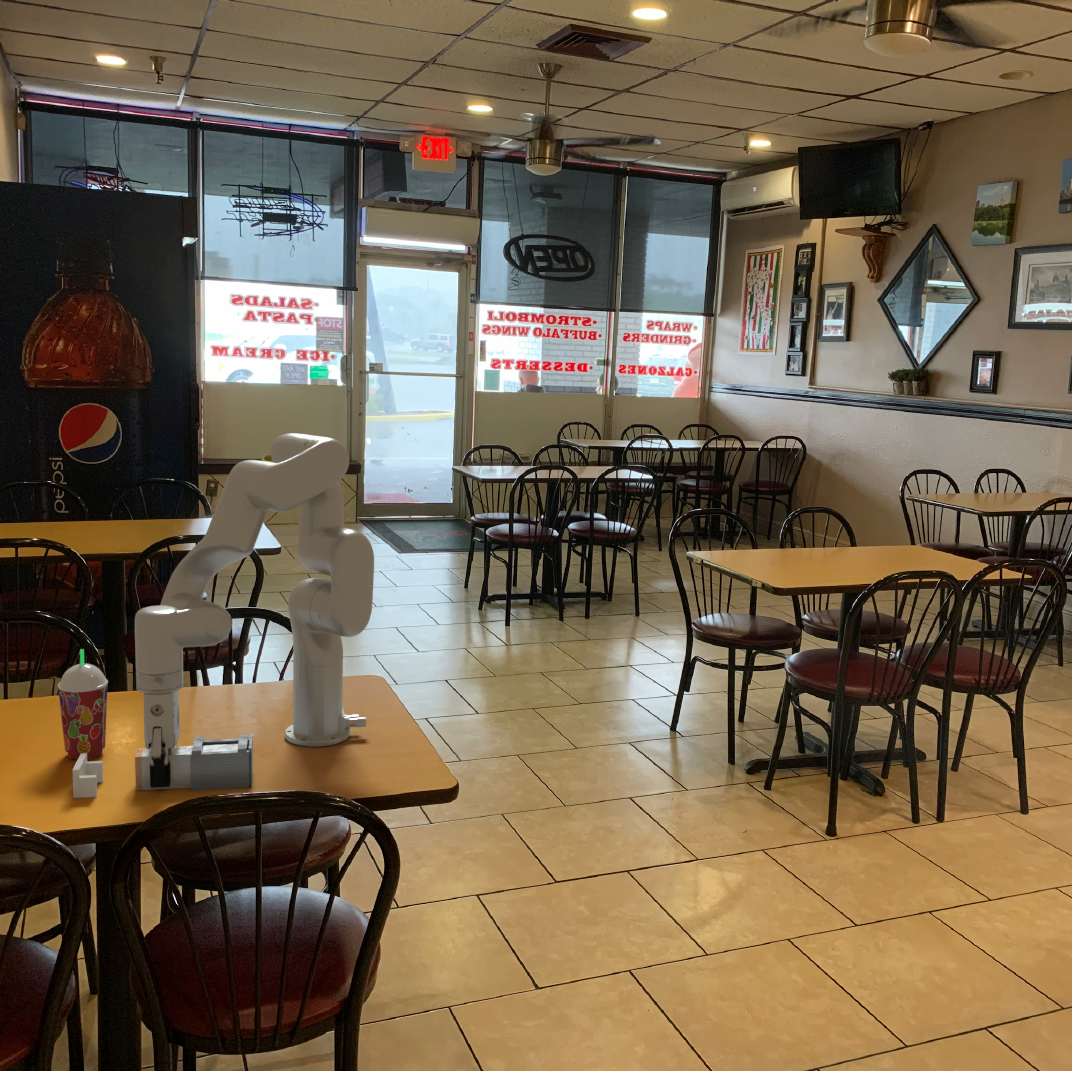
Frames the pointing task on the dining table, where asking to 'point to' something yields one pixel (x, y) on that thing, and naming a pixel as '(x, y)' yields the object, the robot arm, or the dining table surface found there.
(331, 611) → the robot arm
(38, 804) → the dining table surface
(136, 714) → the dining table surface
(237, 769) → the sleeve
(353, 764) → the dining table surface
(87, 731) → the smoothie
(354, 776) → the dining table surface
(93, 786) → the socket
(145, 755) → the grey two-tone block
